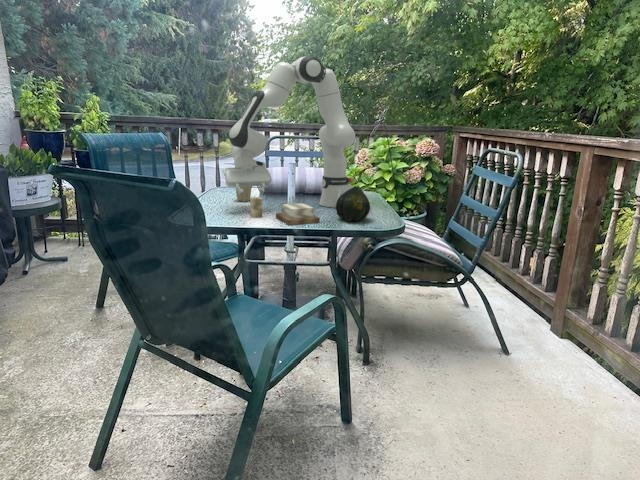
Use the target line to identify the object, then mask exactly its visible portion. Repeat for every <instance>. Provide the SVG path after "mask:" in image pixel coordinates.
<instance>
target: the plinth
mask: <svg viewBox="0 0 640 480" xmlns="http://www.w3.org/2000/svg"><path fill="white" fill-rule="evenodd" d="M314 212H315V211H314V207H313V206H310V205H308V204H306V203H304V202H303V203H287V204H281V212H276V213H275V218H276V220H278V221H280V222H282V223H283V222H284V223H283V224H285V223H286V224H285V225H287V226H294V225H296V226H297V225H308V224H309V225H310V224H319V223H321V222H320V221H321V219H320V217H318V216H316V215H314Z"/></svg>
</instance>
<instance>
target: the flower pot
mask: <svg viewBox="0 0 640 480" xmlns="http://www.w3.org/2000/svg"><path fill="white" fill-rule="evenodd" d="M239 187H240V188H241V189H243V194H239V191H238V190H237V189H236V188H235V192H236V200H237V201H238V202H243V203H246V202H247V203H248V202H250V198H251V193H252V188H253V186H239Z"/></svg>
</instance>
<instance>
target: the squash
mask: <svg viewBox="0 0 640 480" xmlns="http://www.w3.org/2000/svg"><path fill="white" fill-rule="evenodd" d="M352 187H353V188H351V189H349V190H348V191H346V192H345V193H343V194H342V195H341V196H340V197H339V198H338V200H337V203H336V208H335V210H336V215H338V217H340V218H342V219H345V221H347V222H349V223H350V222H359V220H364V219H366V218H367V216H368V215H369V213H370V211H371V204H370V201H369V199H368V198H369V197H367V195H366V193H365V192H364V190H362V188H361V187H360V185H358V186H352Z"/></svg>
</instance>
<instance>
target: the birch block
mask: <svg viewBox="0 0 640 480" xmlns="http://www.w3.org/2000/svg"><path fill="white" fill-rule="evenodd" d="M249 202H250V217H251V218H252V219H253V218H254V219H257V217H259V218H263V198H262V197H260V196H257V197H256V196H255V197H250V201H249Z"/></svg>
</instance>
